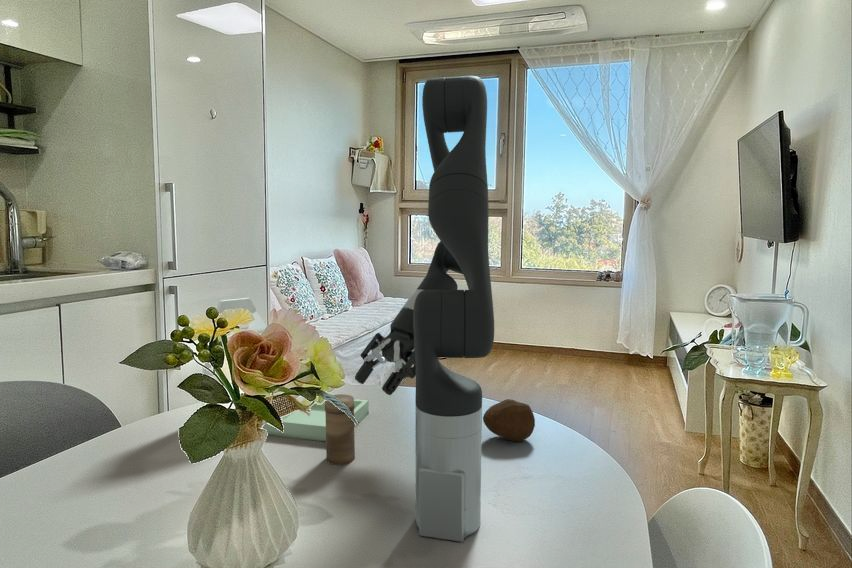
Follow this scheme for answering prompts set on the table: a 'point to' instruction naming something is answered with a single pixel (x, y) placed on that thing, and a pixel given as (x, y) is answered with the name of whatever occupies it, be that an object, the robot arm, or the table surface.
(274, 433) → the bin
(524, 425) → the potato
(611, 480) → the table surface
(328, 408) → the pepper mill
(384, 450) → the table surface
